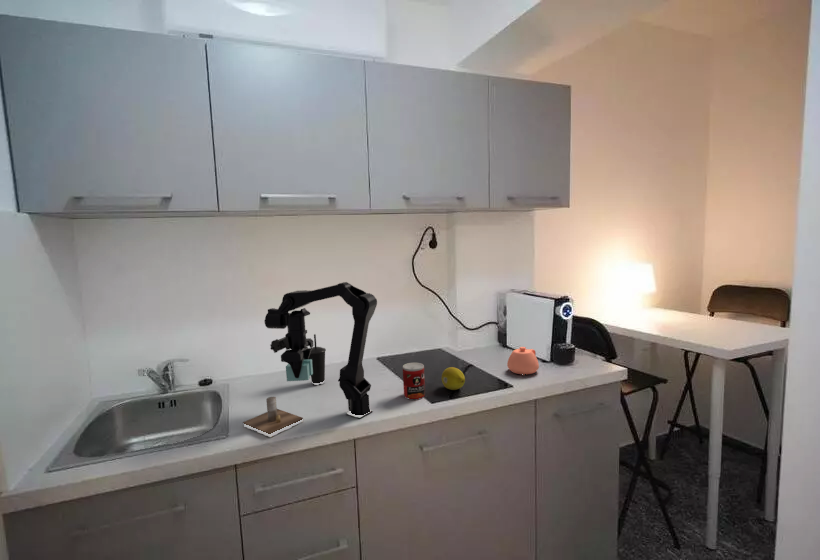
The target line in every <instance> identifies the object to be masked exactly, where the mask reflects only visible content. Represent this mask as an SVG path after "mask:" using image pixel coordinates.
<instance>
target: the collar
mask: <svg viewBox="0 0 820 560" xmlns="http://www.w3.org/2000/svg"><path fill="white" fill-rule="evenodd" d="M285 374H286V375H285V377H286V382H298V381H299V382H301V381H309V380H310V379H311V375H312V374H313V367H312V359H306V360H304V361H303V365H302V368H301V372H300V376H299V378H295V376H294V373H293V371H292V368H291V366H290V364H288V363H287V364H286V365H285Z"/></svg>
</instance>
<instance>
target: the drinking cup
mask: <svg viewBox="0 0 820 560" xmlns="http://www.w3.org/2000/svg"><path fill="white" fill-rule="evenodd" d="M316 336H317V335H316V333H314V334H313V339H314V340H313V344H314V346H313V347H312V350H311V353H310V356H309V359H312V367H313V374H312V375H311V376H310V379H311V383H312V382H313V383H320V382H323V381H324V380H325V379H326V378H325V377H326V376H325V375H326V373H325V371H326V348H325V347H322V346H317V337H316ZM325 381H326V380H325Z"/></svg>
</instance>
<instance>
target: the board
mask: <svg viewBox="0 0 820 560" xmlns="http://www.w3.org/2000/svg"><path fill="white" fill-rule="evenodd" d="M266 410H267V411H266V412H263V413H261V414H259V415H256V416H255V417H252V418H250V419H248V420H244V421H243V422H242V424H243V423H244V424H246V425H249V426H251V427H253V428H256V429H258V430H261V431H263V432H266V433H268V434H271V433H273V432H275V431H277V430H280V429H282V428H284V427H286V426H289V425H291V424H293V423H296V422H298V421H300V420H302V419H303V420H304V417H302V416H299V415H297V414H293V413H291V412H288V411H284V410H282V409H278V407H277V397H276V396H269V397H267V398H266Z"/></svg>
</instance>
